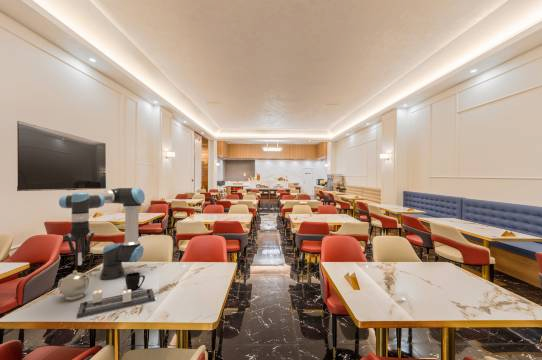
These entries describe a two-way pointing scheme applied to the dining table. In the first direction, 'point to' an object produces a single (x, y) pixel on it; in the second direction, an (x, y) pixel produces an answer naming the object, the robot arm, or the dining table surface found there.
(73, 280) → the teapot
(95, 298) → the fader
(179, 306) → the dining table surface
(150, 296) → the console
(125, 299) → the fader
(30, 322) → the dining table surface
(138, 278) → the mug
